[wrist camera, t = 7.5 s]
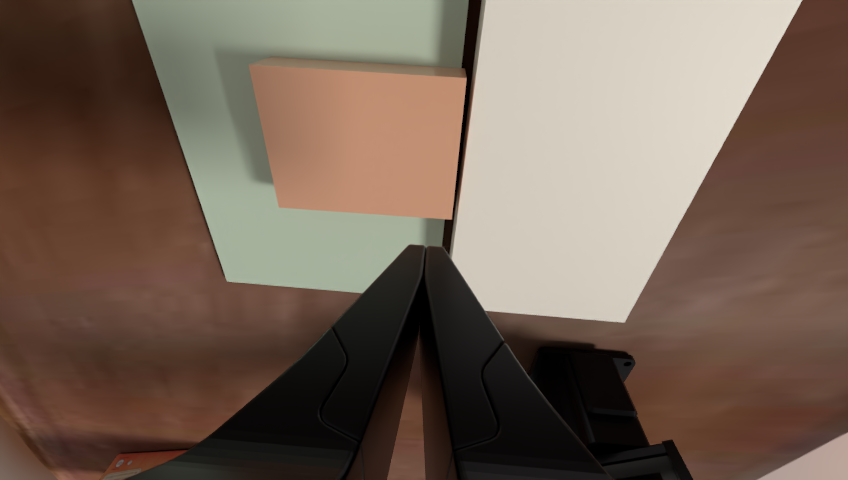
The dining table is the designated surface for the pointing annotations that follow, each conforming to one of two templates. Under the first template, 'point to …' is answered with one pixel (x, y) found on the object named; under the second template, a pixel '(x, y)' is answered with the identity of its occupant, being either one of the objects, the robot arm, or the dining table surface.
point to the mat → (243, 137)
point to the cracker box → (137, 463)
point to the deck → (595, 141)
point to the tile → (361, 135)
